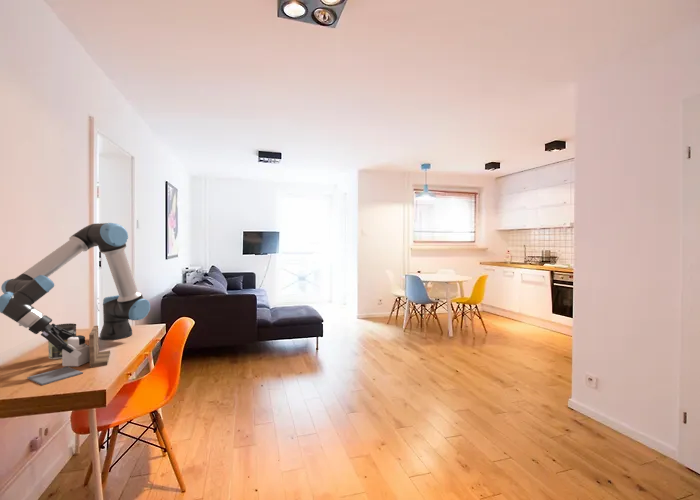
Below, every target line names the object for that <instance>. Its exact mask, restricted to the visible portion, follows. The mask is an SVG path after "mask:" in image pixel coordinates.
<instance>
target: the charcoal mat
mask: <svg viewBox="0 0 700 500" xmlns="http://www.w3.org/2000/svg"><path fill="white" fill-rule="evenodd" d="M83 373H84V372H83V371H80V370H78V369H75V368H72V367H71V366H63V367H60V368H56V369H53V370H49V371H46V372H41V373H39V374H35V375H31V376H27V377H26V378H27V380H30V381H31V382H34V383H35V384H38V385H41V386H44V385H48V384H51V383H55V382H58V381H63V380H65V379H69V378H73V377H76V376H79V375H82V374H83Z"/></svg>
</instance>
